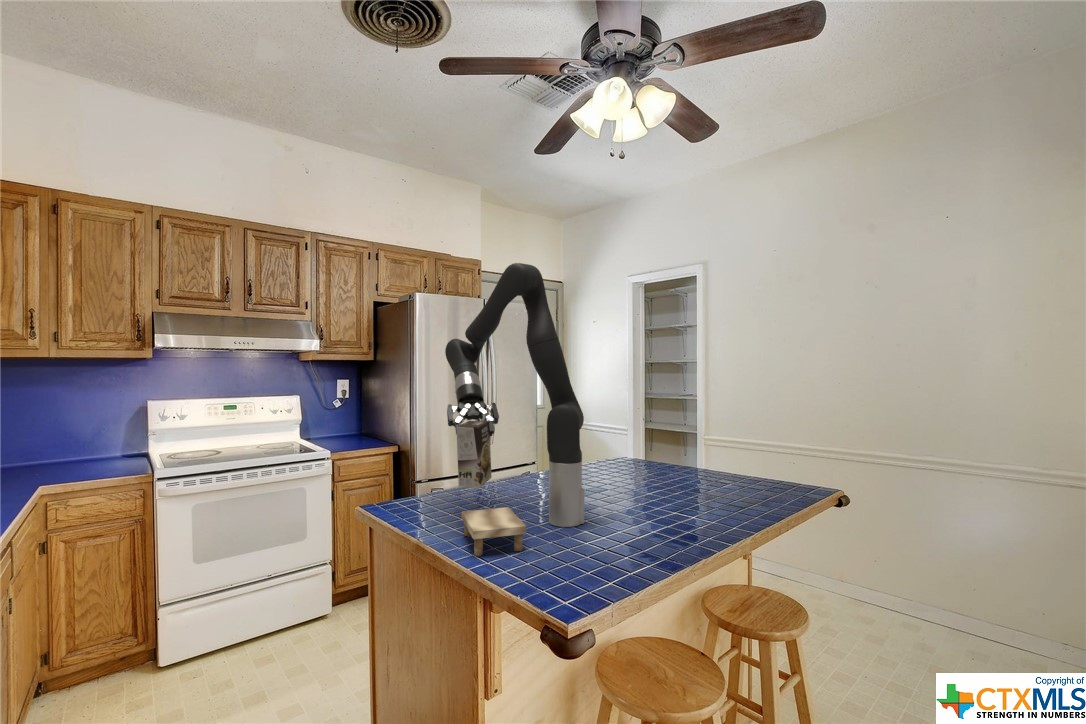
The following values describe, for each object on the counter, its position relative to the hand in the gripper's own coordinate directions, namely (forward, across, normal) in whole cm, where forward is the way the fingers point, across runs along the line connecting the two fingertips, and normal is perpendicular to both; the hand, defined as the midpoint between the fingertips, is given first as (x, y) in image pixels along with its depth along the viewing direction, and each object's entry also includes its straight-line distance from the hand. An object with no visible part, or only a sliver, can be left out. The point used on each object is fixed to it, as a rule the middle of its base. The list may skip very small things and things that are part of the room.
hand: (476, 435), depth 136 cm
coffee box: (+10, 0, +8) cm, 13 cm away
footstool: (+27, +1, +9) cm, 28 cm away
